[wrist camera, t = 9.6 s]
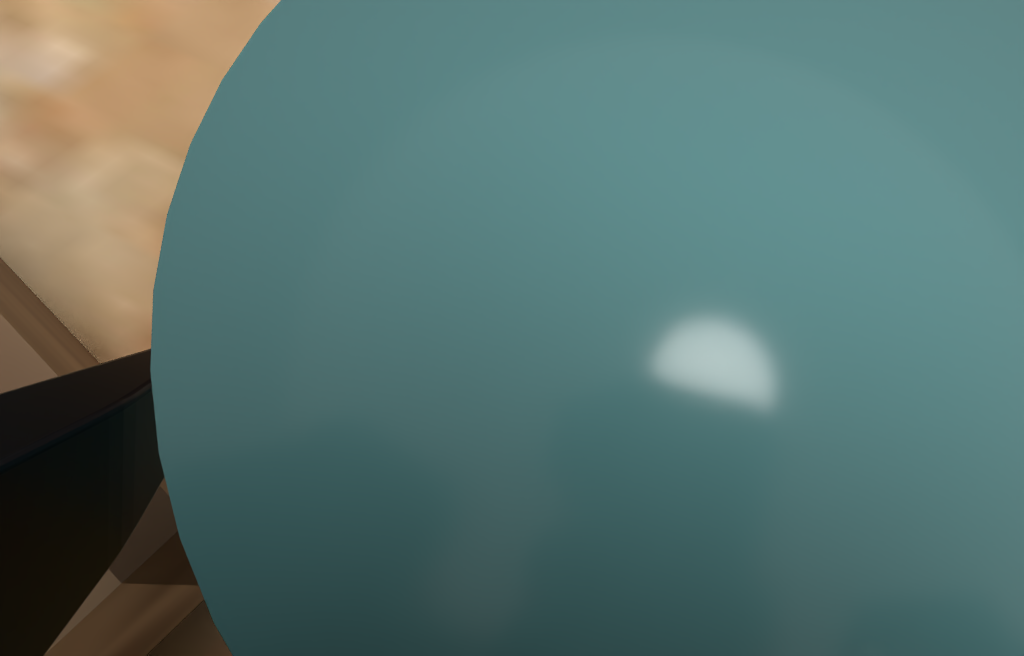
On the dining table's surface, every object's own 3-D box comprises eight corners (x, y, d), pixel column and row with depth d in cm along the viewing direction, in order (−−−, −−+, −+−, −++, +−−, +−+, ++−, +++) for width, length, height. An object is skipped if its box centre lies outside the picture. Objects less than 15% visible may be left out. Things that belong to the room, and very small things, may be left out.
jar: (536, 746, 16) (902, 1428, 3) (325, 525, 17) (-121, 287, 4) (731, 518, 18) (1555, 294, 4) (526, 327, 18) (700, -332, 5)
